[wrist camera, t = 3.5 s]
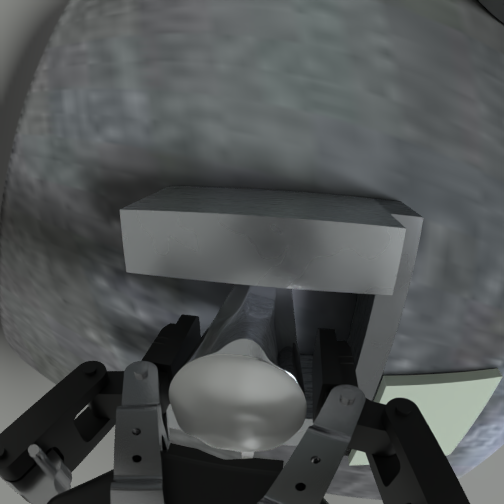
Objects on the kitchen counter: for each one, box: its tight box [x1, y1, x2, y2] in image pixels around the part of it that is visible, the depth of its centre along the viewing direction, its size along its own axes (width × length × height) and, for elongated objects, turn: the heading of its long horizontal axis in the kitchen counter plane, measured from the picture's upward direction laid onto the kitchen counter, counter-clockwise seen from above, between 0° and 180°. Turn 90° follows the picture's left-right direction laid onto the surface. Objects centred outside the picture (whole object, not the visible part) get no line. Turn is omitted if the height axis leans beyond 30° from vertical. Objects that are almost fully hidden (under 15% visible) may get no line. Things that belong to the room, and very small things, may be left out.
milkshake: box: [169, 284, 307, 459], centre depth 12 cm, size 5×5×10 cm
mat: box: [348, 368, 503, 465], centre depth 19 cm, size 10×10×1 cm
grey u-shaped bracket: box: [120, 186, 423, 446], centre depth 15 cm, size 12×12×5 cm
